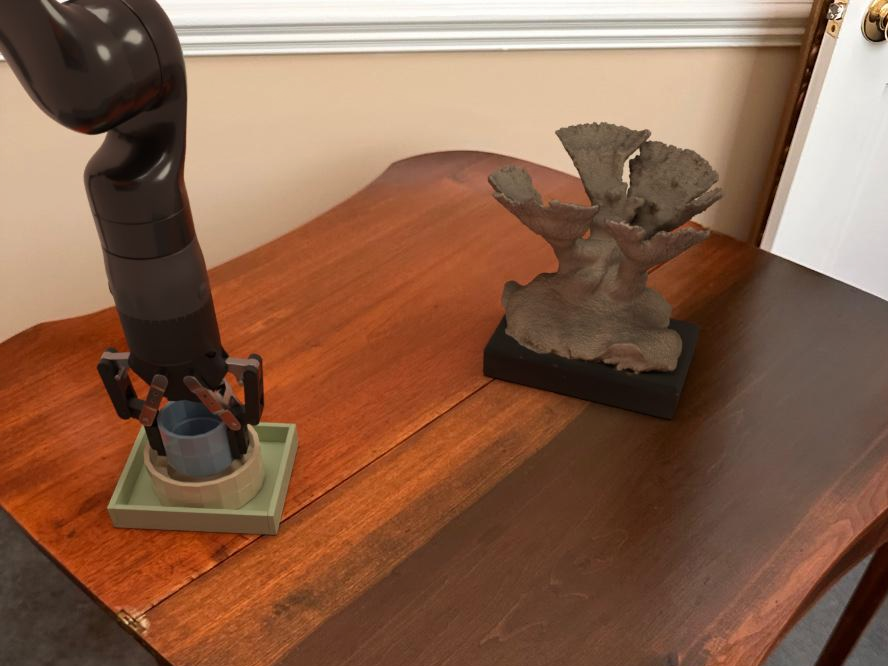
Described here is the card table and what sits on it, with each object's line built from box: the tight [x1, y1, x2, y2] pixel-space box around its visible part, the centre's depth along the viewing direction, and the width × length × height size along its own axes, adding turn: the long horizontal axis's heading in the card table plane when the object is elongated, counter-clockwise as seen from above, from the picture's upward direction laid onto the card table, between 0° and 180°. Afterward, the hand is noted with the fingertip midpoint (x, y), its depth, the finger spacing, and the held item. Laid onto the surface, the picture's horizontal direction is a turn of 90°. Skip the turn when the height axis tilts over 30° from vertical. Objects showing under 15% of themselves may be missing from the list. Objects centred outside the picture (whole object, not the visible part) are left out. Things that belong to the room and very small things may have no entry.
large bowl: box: [144, 424, 265, 510], centre depth 83 cm, size 11×11×4 cm
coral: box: [482, 121, 725, 420], centre depth 93 cm, size 25×20×22 cm
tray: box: [106, 421, 299, 536], centre depth 84 cm, size 15×13×2 cm
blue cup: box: [157, 400, 235, 477], centre depth 81 cm, size 6×6×5 cm
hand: (202, 451), depth 82 cm, fingers closed on blue cup, 6 cm apart
